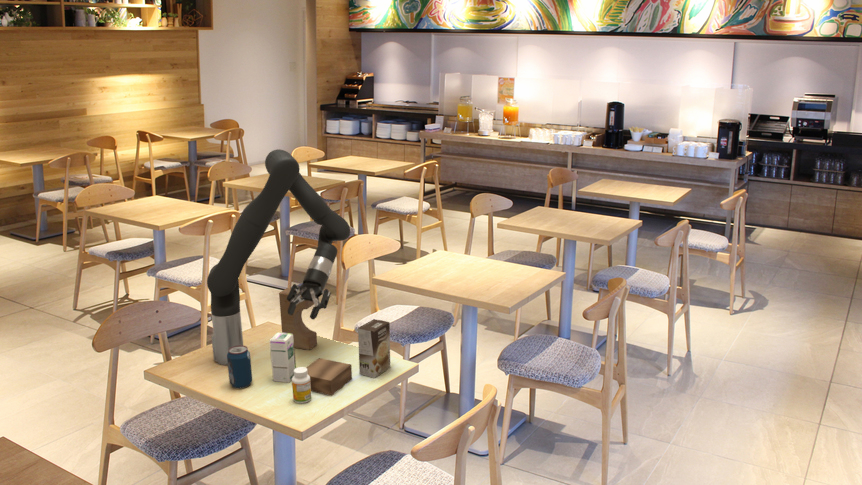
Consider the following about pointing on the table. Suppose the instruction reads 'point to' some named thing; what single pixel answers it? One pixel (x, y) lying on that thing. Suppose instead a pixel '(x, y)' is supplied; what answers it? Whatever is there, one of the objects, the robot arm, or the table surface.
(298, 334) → the decorative block
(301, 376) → the supplement bottle
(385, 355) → the coffee box
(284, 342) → the syrup box
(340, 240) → the robot arm
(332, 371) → the walnut block
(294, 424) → the table surface
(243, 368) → the soda can
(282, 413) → the table surface
